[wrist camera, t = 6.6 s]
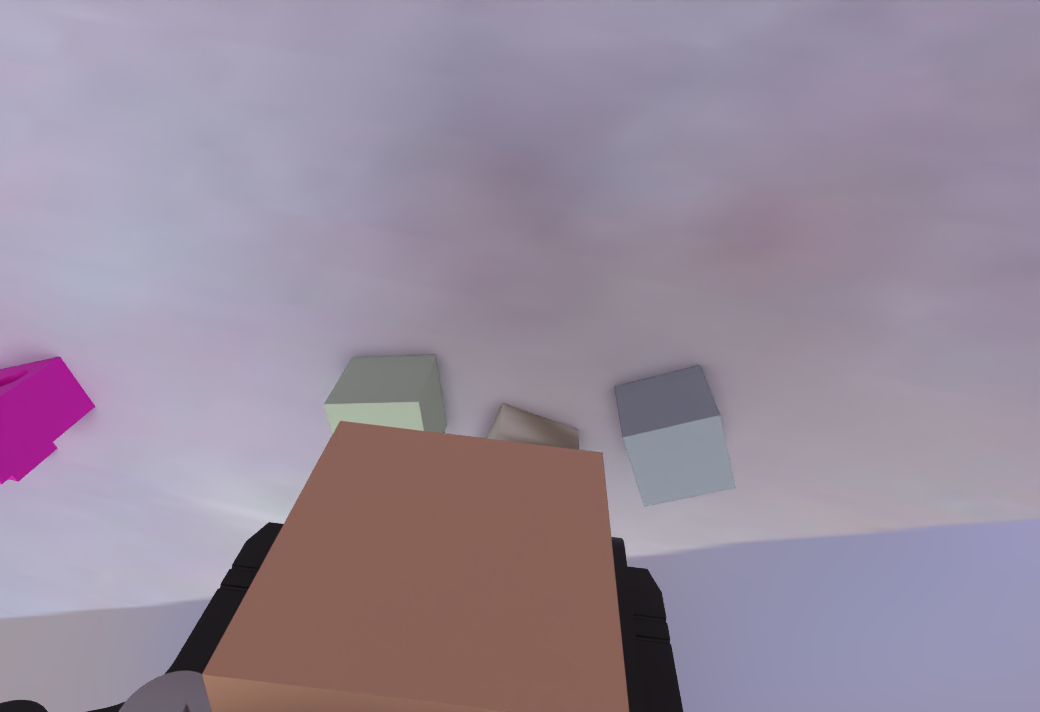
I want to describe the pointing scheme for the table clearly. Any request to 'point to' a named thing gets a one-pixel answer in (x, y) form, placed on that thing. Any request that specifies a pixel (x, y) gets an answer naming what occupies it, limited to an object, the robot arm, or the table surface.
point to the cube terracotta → (432, 584)
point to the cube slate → (674, 436)
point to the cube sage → (389, 393)
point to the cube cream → (532, 429)
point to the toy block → (36, 413)
